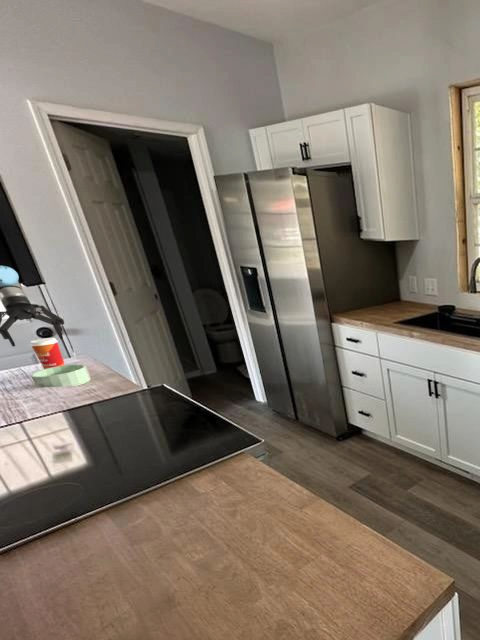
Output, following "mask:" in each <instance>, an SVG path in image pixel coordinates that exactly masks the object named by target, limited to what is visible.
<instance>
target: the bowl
mask: <svg viewBox="0 0 480 640" xmlns="http://www.w3.org/2000/svg"><path fill="white" fill-rule="evenodd" d="M30 377H31V380H32V382H33V384H34V386H35V388H37V389H39V388H60V387H78V386H81V385H83V384H87V383H88V382H90V381H92V380H91V376H90V373H89V370H88V369H87V366H86V365H85V364H81V363H73V364H65V365H63V366H57V367H52V368H47V369H44V368H42V369H40V370H37V371H35V372H31V374H30Z"/></svg>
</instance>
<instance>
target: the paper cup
mask: <svg viewBox="0 0 480 640" xmlns="http://www.w3.org/2000/svg"><path fill="white" fill-rule="evenodd" d="M58 342H59V340H57V338H55V337H47V338H39V339H35V340H30V344H29V346H30V347H31V348H32V350H33V352H34V354H35V355H36V357H37V359H38V360H39V363H40V364H41V366H42V369H47V368H52V367H57V366H63V365H66V364H65V361H64V358H63V355H62V352H61V350H60V349H61V348H60V346H59V344H58Z"/></svg>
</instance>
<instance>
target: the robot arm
mask: <svg viewBox="0 0 480 640" xmlns="http://www.w3.org/2000/svg"><path fill="white" fill-rule="evenodd" d="M19 278H20V277H19V274H18V272H17V271H16V270H15V269H14V268H12V267H10V266H6V265H0V302H1V304H2V306H3V308H4V310H5V311H0V335H1V337H2V338H3V340H8V341H9V343H10V345H11V347H13V348H14V347H16V344H15V341H14V339H13V338H12V336H11V333H10V332H9V331H8V330H9V329H10V328H11V327H12V326H13V325H14V323H16V322H17V321H18V320H19V321H24V320H25V321H26V320H31V319H34V320H36V321H40V322H43V323H46V324H49V325H52V327H53V329H54V331H55V332H56V334H57V337H58V338H59V339H60V340H63V338H64V337H63V334H62V332H63V328H62V325H65V320H64V318H62V317H60V316H58V315H57V314H55V313H53V312H52V311H50V310H48V309H47V308H46V307H45V306H44V305H39V307H34V306H33V304H32V303H31V301H30V300H29V298H28V296H27V294H26V293H25V291H24V289H23V288H22V285H21V284H20V282H19ZM42 314H43V315H42ZM6 316H8V318H7V319H6V320H5V321H4V323H3V324H2V322H3V318H4V317H6ZM1 324H2V325H1Z"/></svg>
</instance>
